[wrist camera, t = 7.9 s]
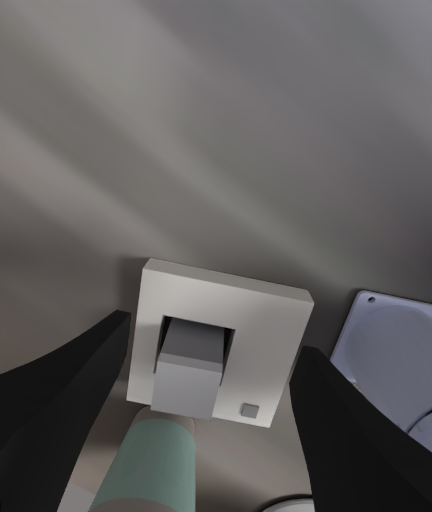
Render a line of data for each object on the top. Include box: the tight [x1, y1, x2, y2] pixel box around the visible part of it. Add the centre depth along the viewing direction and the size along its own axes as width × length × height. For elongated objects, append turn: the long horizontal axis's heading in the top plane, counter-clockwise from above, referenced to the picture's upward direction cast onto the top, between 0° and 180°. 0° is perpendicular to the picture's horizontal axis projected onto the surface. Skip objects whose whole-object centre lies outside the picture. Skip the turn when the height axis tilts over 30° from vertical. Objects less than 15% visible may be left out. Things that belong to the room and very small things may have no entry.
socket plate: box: [126, 258, 315, 428], centre depth 24 cm, size 12×12×2 cm
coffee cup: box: [88, 405, 195, 512], centre depth 23 cm, size 8×9×12 cm
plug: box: [151, 317, 224, 421], centre depth 22 cm, size 4×4×6 cm
